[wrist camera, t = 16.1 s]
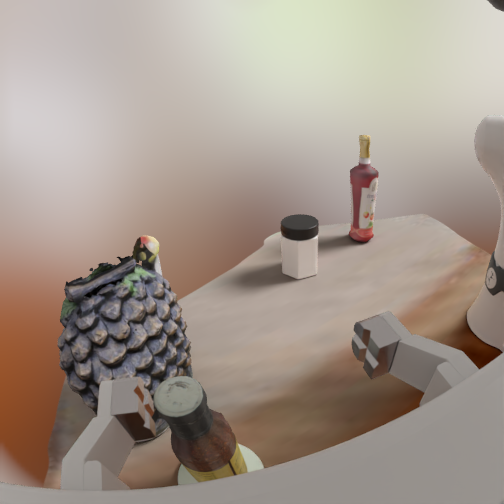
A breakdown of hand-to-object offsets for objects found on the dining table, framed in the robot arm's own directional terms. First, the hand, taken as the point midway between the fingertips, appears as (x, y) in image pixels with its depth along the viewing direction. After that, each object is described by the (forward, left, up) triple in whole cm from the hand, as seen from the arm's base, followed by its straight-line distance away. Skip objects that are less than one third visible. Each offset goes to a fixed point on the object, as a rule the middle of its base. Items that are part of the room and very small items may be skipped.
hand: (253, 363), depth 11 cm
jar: (+2, -55, -32) cm, 64 cm away
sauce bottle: (+7, -5, -31) cm, 32 cm away
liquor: (-14, -71, -32) cm, 79 cm away
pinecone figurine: (+22, -16, -32) cm, 42 cm away
